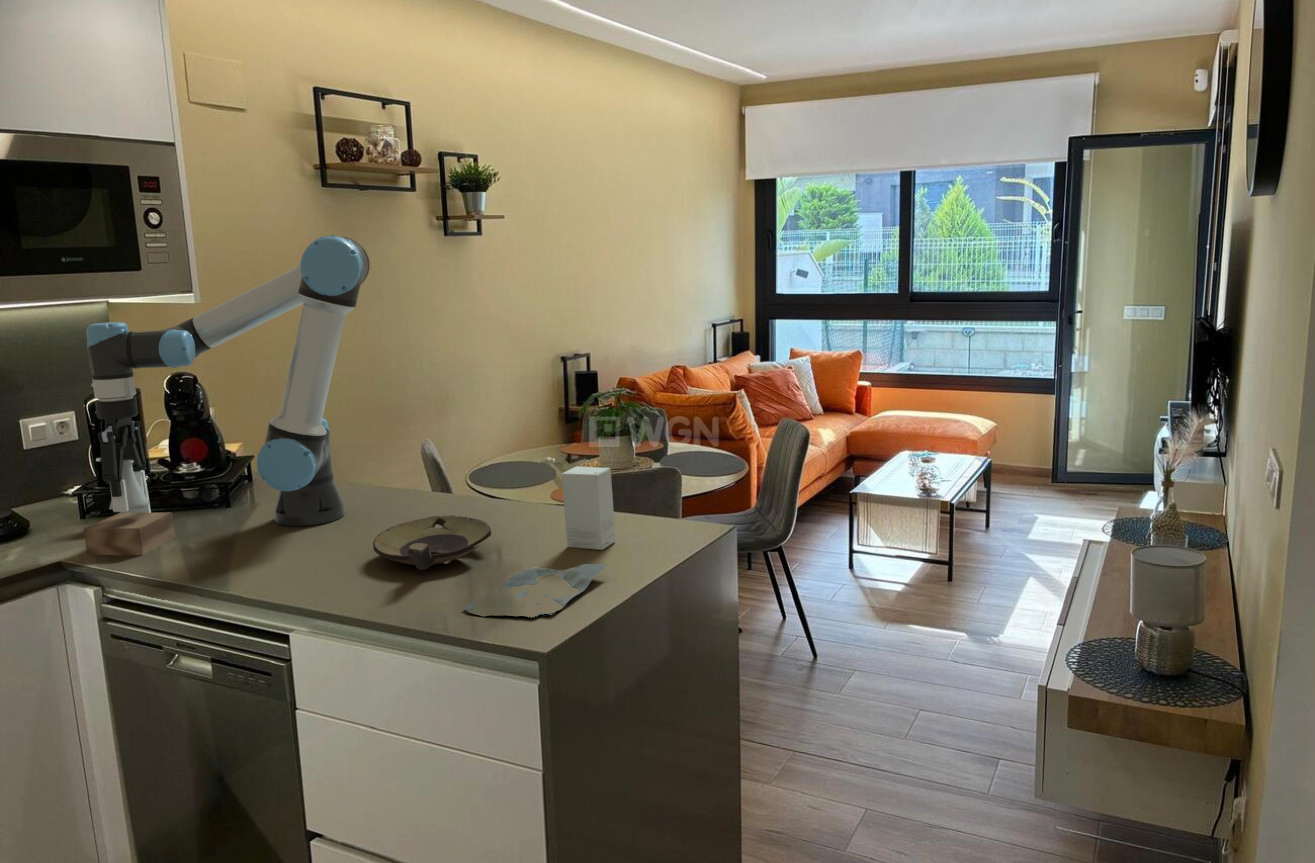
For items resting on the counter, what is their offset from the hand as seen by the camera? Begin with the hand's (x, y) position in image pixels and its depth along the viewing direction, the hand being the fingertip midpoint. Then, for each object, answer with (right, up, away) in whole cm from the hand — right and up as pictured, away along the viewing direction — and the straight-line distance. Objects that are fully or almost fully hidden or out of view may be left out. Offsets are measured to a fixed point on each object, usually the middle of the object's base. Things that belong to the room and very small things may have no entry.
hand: (129, 506), depth 207 cm
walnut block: (0, -9, +1) cm, 9 cm away
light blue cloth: (+90, -13, -35) cm, 97 cm away
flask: (0, -1, 0) cm, 1 cm away
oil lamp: (+66, -10, -15) cm, 68 cm away
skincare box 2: (+97, -7, -8) cm, 98 cm away
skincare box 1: (-9, -6, +20) cm, 22 cm away
